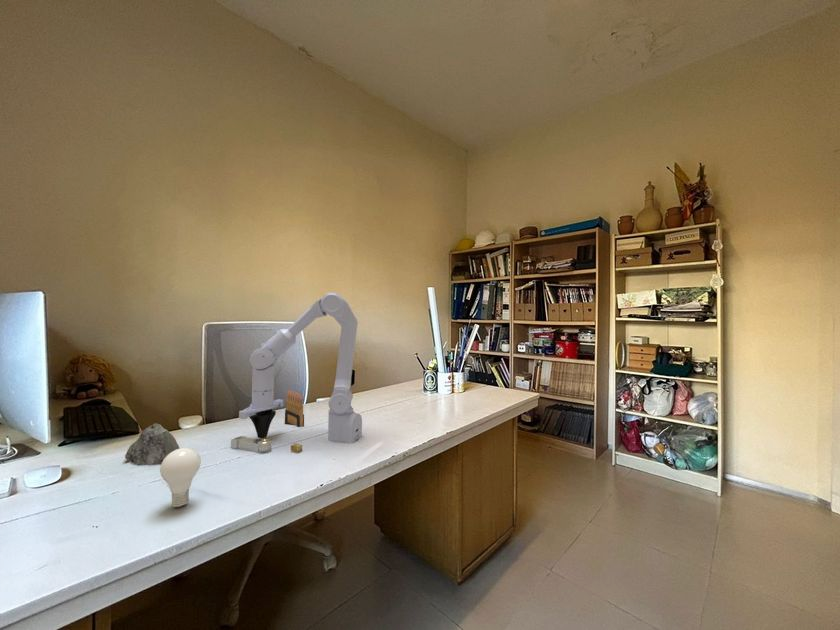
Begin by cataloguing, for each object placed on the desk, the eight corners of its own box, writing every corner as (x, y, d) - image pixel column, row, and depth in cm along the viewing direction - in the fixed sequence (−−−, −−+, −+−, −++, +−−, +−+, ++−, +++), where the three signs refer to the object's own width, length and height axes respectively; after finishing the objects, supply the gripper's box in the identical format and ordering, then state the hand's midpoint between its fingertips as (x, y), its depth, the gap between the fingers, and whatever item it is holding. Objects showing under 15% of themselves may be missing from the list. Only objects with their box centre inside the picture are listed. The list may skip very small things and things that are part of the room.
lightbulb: (168, 520, 59) (169, 458, 59) (153, 508, 62) (154, 450, 63) (206, 503, 64) (207, 447, 65) (190, 494, 68) (191, 440, 68)
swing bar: (273, 449, 88) (274, 437, 88) (264, 454, 85) (264, 442, 85) (240, 443, 92) (241, 432, 92) (230, 447, 89) (231, 436, 89)
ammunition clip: (304, 430, 108) (304, 393, 108) (298, 431, 106) (299, 394, 107) (289, 422, 115) (290, 388, 115) (284, 424, 114) (285, 389, 114)
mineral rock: (125, 459, 84) (126, 420, 84) (177, 449, 91) (178, 412, 91) (123, 478, 74) (124, 433, 74) (182, 465, 81) (182, 424, 81)
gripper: (270, 384, 103) (269, 427, 103) (230, 393, 89) (229, 444, 89) (289, 385, 101) (288, 430, 101) (251, 396, 87) (250, 447, 87)
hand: (262, 437), depth 95 cm, fingers closed
